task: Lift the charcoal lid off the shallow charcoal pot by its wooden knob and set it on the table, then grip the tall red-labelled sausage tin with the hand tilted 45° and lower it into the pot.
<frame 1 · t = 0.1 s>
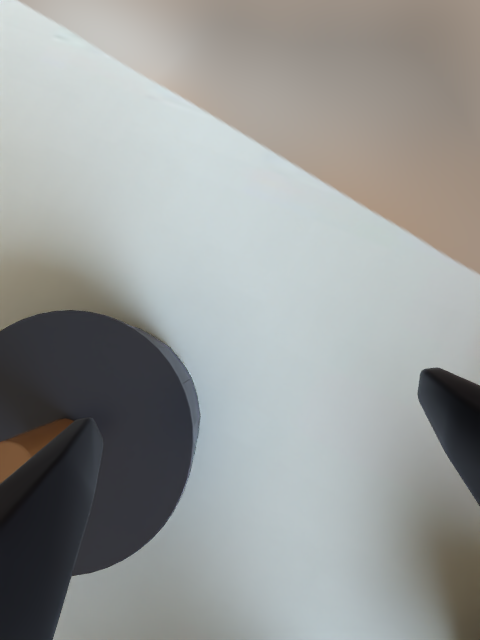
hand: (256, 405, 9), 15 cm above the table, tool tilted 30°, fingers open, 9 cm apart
lid: (68, 437, 19), point 5 cm above the table, touching pot
pot: (106, 417, 24), on the table
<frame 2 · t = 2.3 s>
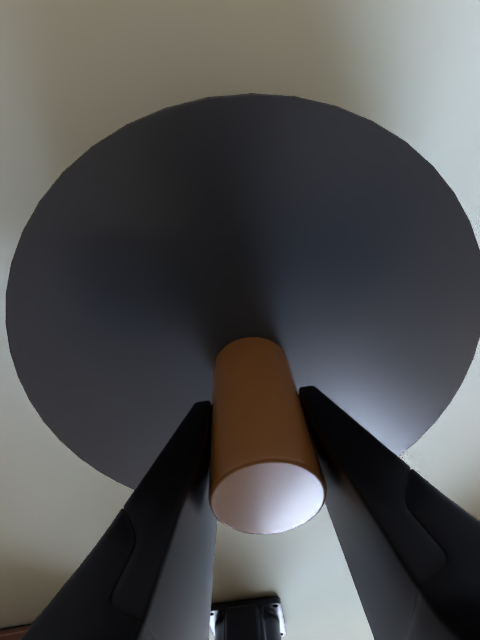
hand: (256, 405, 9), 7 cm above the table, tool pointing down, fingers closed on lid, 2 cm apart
lid: (249, 359, 11), point 5 cm above the table, touching gripper, pot
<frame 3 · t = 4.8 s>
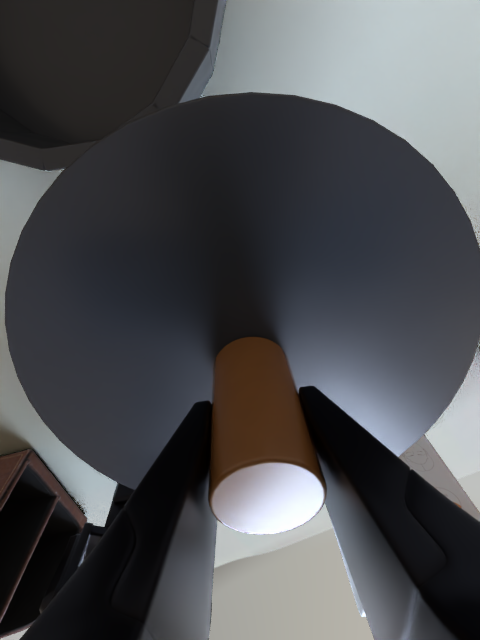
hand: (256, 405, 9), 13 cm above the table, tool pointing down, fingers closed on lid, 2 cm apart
lid: (249, 358, 11), point 11 cm above the table, touching gripper
small box: (362, 443, 29), on the table
when the fingers open (3 cm above the table, at t = 7.5 s): lid stays where it is, point 1 cm above the table.
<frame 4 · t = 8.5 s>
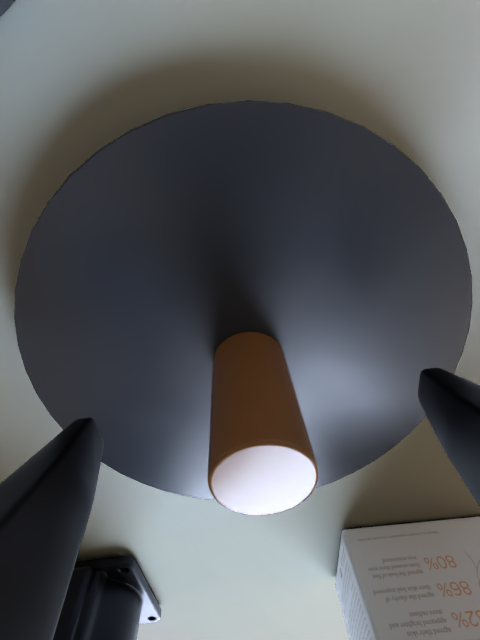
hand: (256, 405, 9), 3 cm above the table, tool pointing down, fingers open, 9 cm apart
lid: (247, 353, 12), point 1 cm above the table
small box: (404, 545, 19), on the table
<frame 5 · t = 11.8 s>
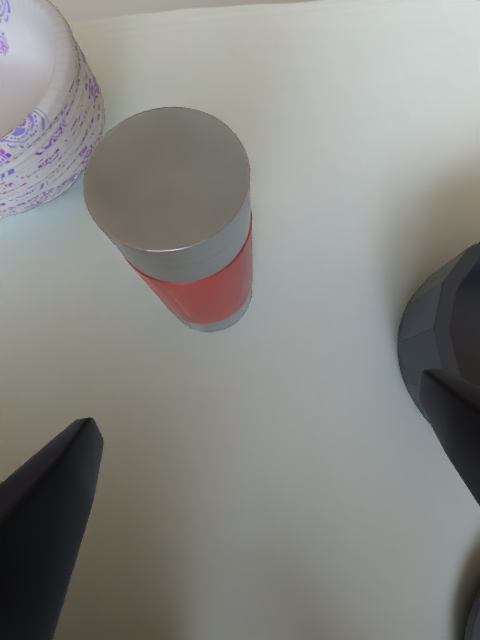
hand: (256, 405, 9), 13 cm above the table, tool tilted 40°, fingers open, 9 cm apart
paper bowls: (32, 160, 28), on the table
sausage tin: (210, 291, 24), on the table
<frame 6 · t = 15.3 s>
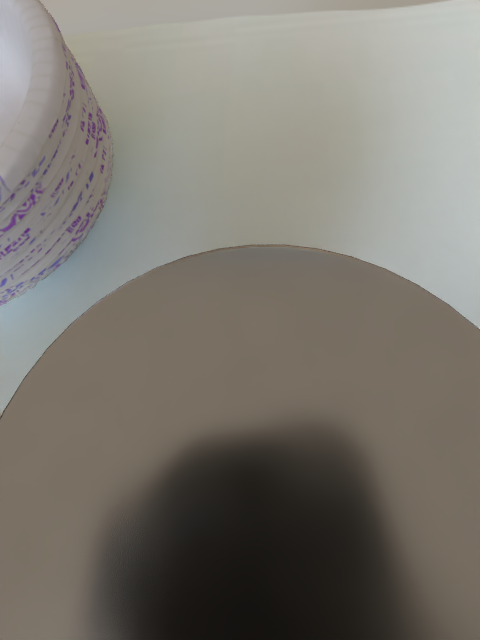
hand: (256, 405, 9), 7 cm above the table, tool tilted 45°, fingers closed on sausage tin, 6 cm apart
paper bowls: (13, 218, 20), on the table
sausage tin: (263, 443, 15), on the table, touching gripper
when the fingers open (7 cm above the table, at t = 23.2 s): sausage tin stays where it is, resting on pot.
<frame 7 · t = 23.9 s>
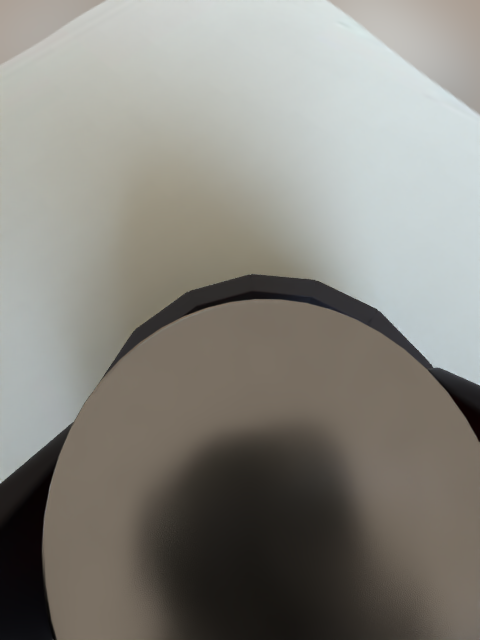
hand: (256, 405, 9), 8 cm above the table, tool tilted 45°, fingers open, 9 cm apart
pot: (264, 442, 17), on the table
sausage tin: (264, 446, 16), resting on pot
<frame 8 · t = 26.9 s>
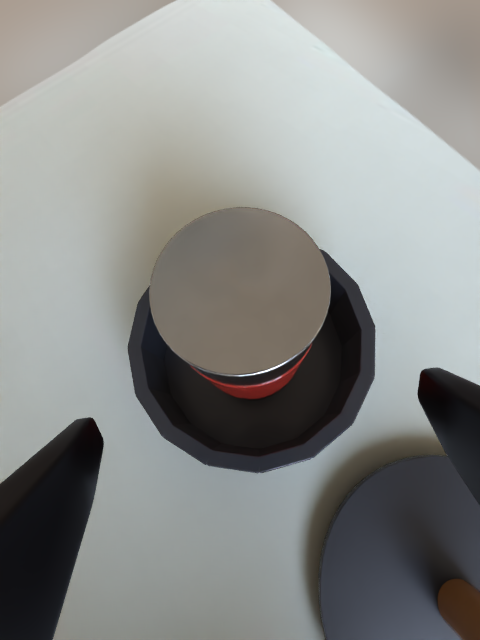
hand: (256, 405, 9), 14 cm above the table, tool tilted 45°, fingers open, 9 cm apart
lid: (455, 600, 18), point 1 cm above the table
pot: (252, 355, 23), on the table
sausage tin: (251, 356, 23), resting on pot
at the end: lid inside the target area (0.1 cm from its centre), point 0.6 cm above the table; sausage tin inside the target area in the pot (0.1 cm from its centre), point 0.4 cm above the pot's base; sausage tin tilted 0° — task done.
